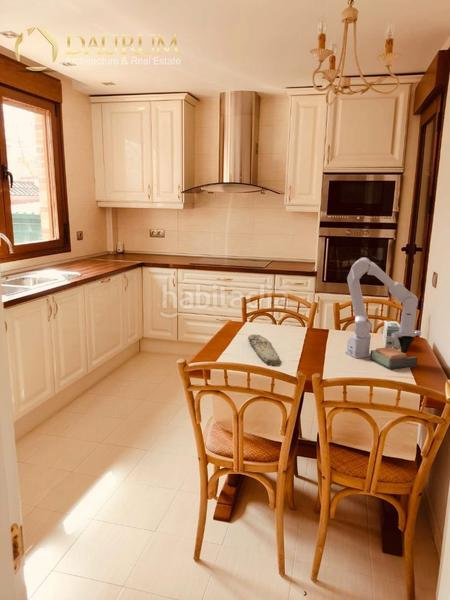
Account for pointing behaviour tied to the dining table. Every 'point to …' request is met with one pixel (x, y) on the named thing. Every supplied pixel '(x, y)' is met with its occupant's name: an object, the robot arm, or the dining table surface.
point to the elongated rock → (264, 349)
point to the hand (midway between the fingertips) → (403, 352)
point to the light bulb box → (388, 330)
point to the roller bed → (393, 361)
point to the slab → (391, 353)
